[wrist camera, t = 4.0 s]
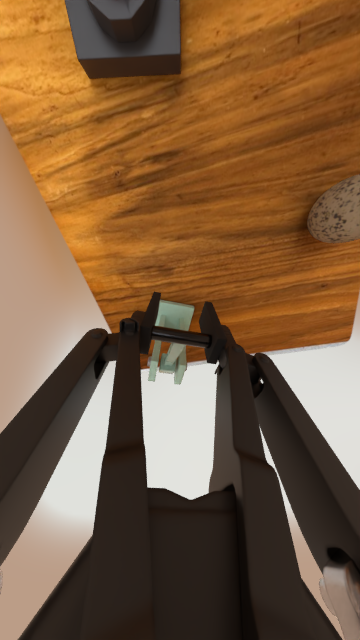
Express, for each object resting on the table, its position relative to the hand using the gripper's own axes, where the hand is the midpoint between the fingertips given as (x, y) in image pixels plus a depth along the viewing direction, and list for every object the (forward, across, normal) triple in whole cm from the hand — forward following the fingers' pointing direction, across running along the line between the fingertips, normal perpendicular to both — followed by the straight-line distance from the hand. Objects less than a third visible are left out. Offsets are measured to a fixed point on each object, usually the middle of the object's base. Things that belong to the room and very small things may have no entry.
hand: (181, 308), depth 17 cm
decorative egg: (+13, +19, +14) cm, 27 cm away
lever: (-1, 0, -5) cm, 5 cm away
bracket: (+13, 0, -10) cm, 16 cm away
